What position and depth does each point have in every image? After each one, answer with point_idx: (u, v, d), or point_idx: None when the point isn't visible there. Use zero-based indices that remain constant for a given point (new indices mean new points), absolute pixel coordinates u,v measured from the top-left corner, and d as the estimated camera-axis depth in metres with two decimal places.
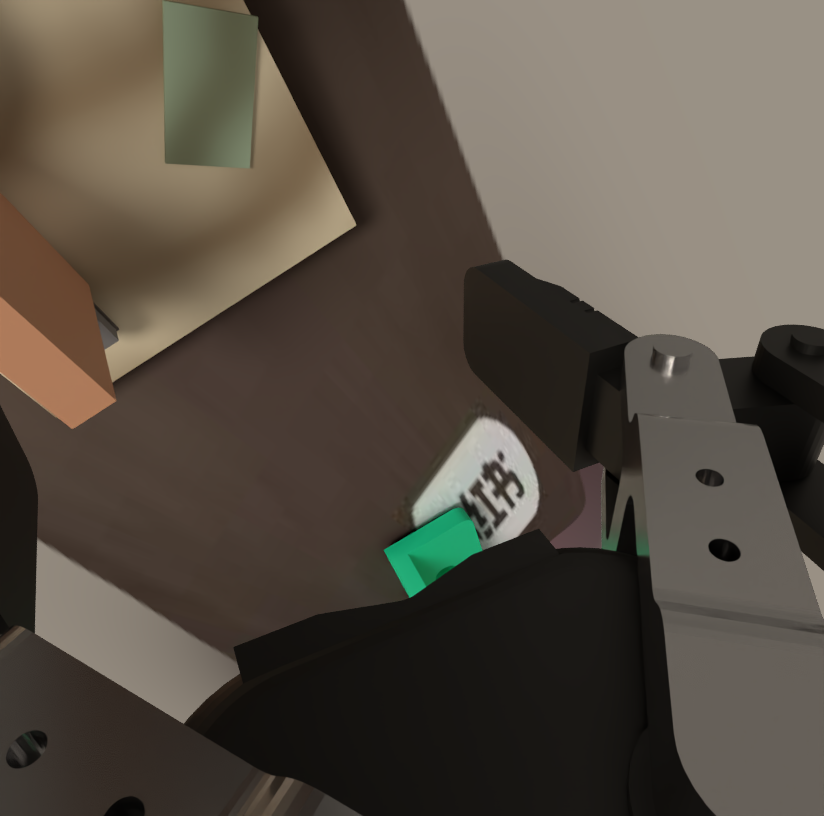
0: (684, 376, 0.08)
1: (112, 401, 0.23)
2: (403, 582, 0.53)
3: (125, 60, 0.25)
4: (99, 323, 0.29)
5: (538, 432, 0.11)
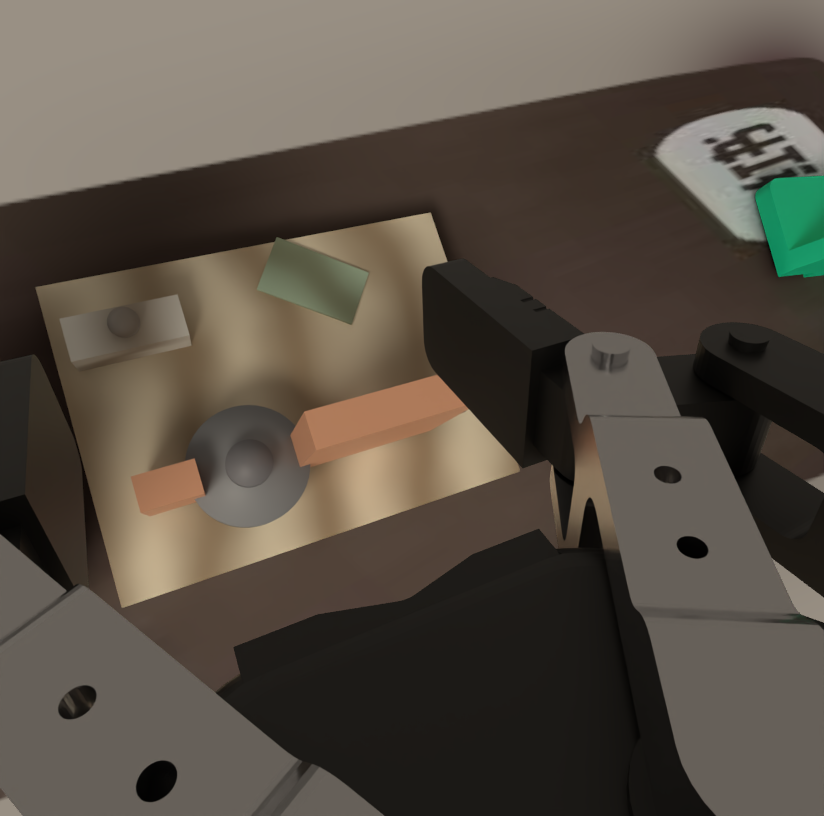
0: (620, 373, 0.08)
1: None
2: (819, 258, 0.49)
3: (285, 323, 0.39)
4: None
5: (491, 429, 0.11)
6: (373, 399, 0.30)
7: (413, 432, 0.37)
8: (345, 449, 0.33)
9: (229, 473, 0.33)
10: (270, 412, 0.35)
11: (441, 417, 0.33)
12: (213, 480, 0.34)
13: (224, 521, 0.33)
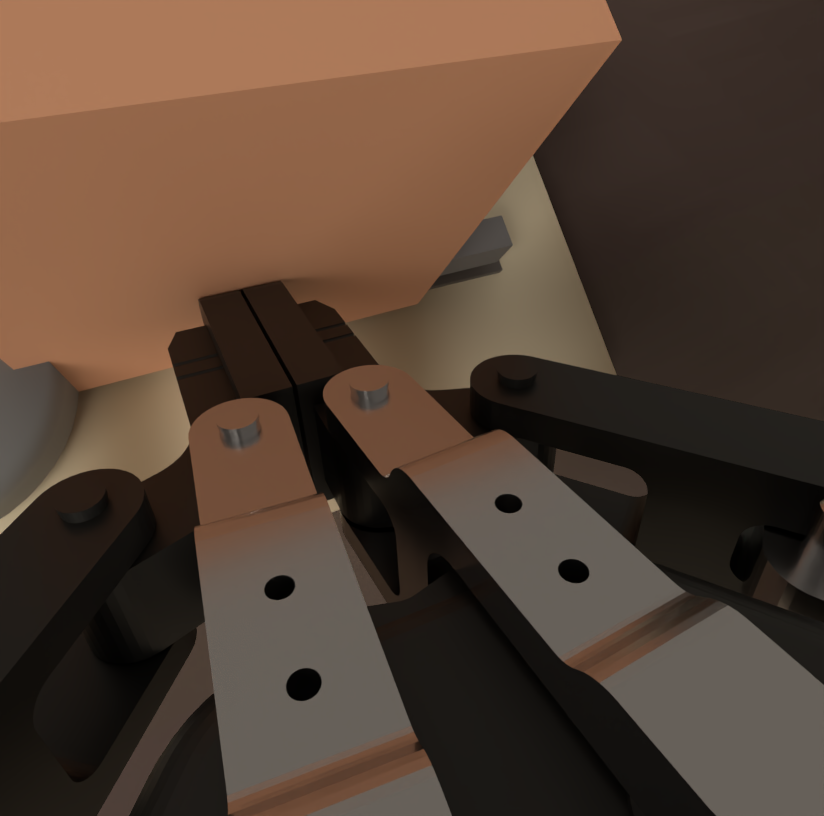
0: (368, 412, 0.08)
1: None
2: None
3: None
4: None
5: None
6: None
7: (368, 282, 0.13)
8: (118, 290, 0.10)
9: None
10: None
11: (445, 171, 0.10)
12: None
13: None
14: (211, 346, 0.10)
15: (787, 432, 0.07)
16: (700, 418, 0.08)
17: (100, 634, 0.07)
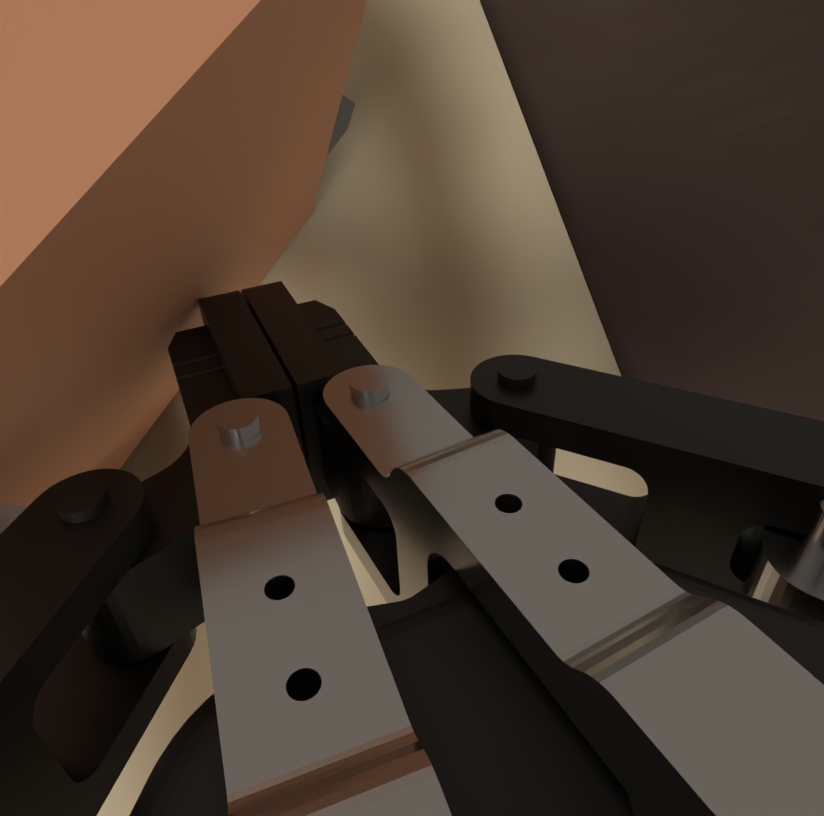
0: (368, 411, 0.08)
1: None
2: None
3: None
4: None
5: None
6: None
7: (275, 222, 0.13)
8: (110, 376, 0.09)
9: None
10: None
11: (309, 70, 0.09)
12: None
13: None
14: (211, 346, 0.10)
15: (787, 433, 0.07)
16: (700, 417, 0.08)
17: (100, 634, 0.07)
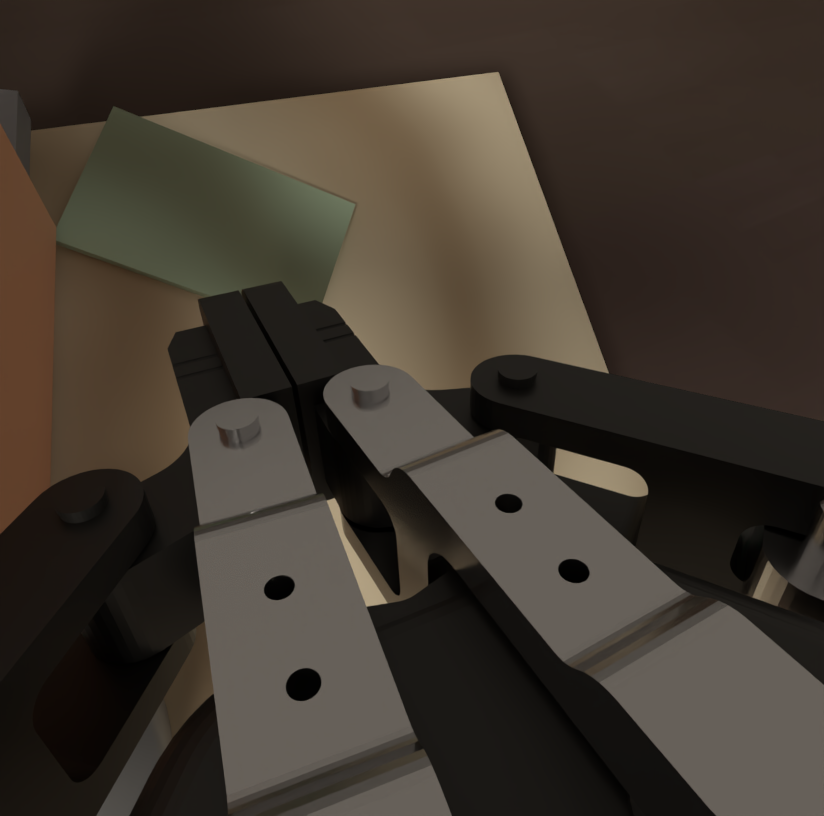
0: (368, 412, 0.08)
1: None
2: None
3: (132, 333, 0.15)
4: None
5: None
6: None
7: (19, 262, 0.12)
8: None
9: None
10: None
11: None
12: None
13: None
14: (211, 346, 0.10)
15: (787, 432, 0.07)
16: (700, 417, 0.08)
17: (99, 634, 0.07)
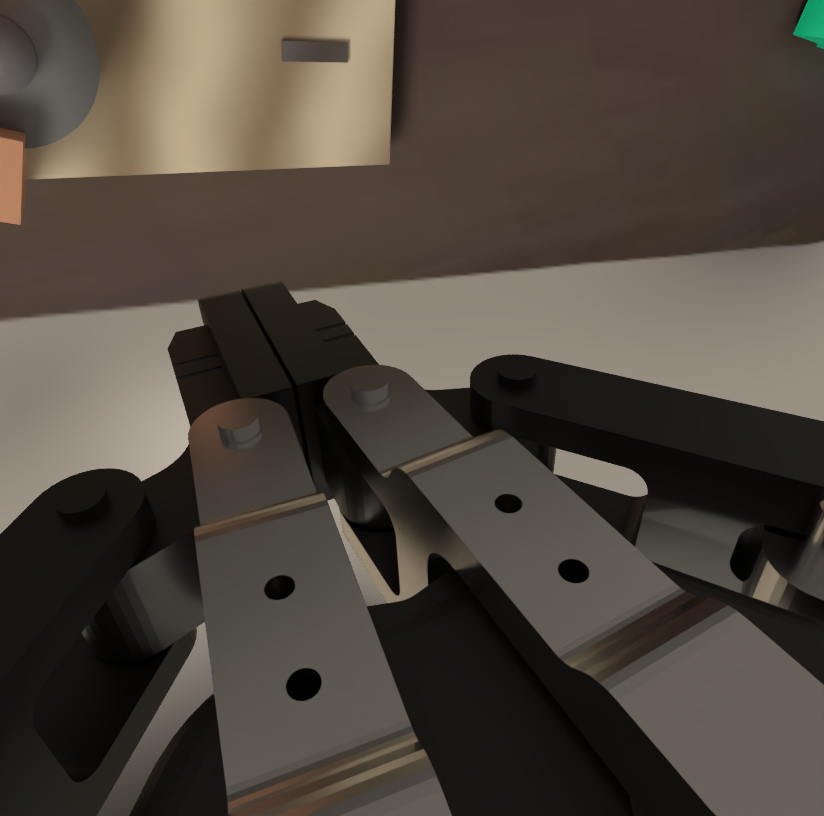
0: (368, 412, 0.08)
1: None
2: None
3: None
4: None
5: None
6: None
7: None
8: None
9: (3, 92, 0.23)
10: None
11: None
12: (5, 112, 0.24)
13: (72, 128, 0.25)
14: (211, 346, 0.10)
15: (787, 433, 0.07)
16: (699, 417, 0.08)
17: (100, 634, 0.07)
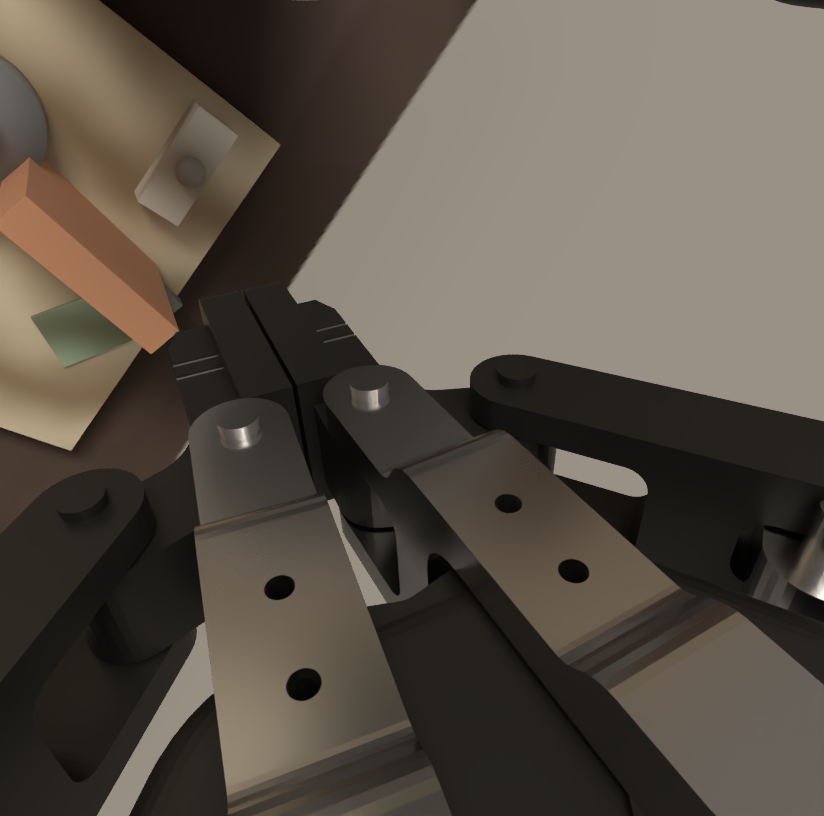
0: (368, 412, 0.08)
1: (176, 331, 0.32)
2: None
3: None
4: (167, 292, 0.39)
5: None
6: (84, 257, 0.28)
7: None
8: None
9: None
10: (41, 125, 0.31)
11: None
12: None
13: None
14: (211, 346, 0.10)
15: (787, 432, 0.07)
16: (699, 417, 0.08)
17: (100, 634, 0.07)
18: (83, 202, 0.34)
